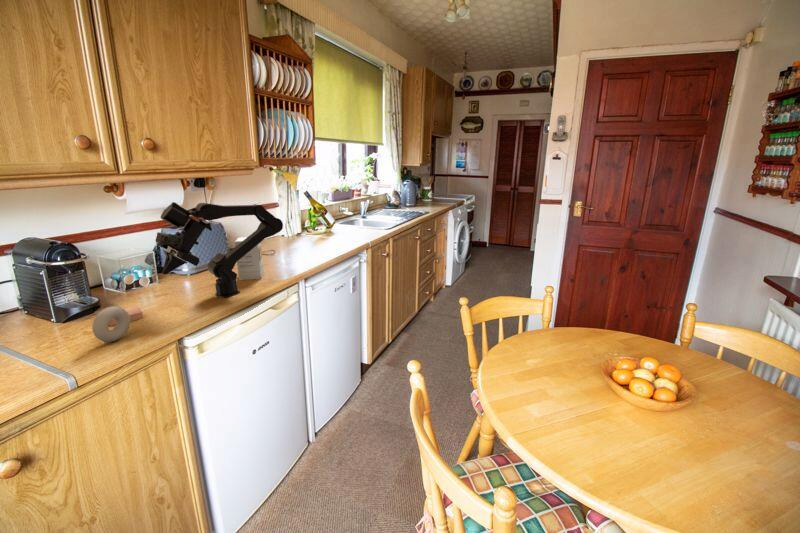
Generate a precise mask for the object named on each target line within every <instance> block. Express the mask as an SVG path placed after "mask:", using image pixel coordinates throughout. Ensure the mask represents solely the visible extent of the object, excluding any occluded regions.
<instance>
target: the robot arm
mask: <svg viewBox="0 0 800 533" xmlns="http://www.w3.org/2000/svg"><path fill="white" fill-rule="evenodd" d="M238 216H244V217H245V216H255V217H256V219H257V220H258V221H259V222H260V223H259V225H258V226H257V228H256V229H255V231H254V232H252V233H251V234H249V236H246V237H247V238H246V239H245V240H243V241H242V242H241V243H240V244H238V245H237V246H236V247H235V246H234V247H233V248H232V249H231V250H229V251H228V252H227V253H224V254H223V253H221V252H218V253H217V254H216V255H215V256H214V257H211V258H210V259H209V260H210V261H209V262H208V263H207V270H208V272H209V273H211V275H213V276H214V277H215V278H217V279H215V282H216V283H215V285H214V286H215V291H216V292H215V295H216V296H219V297H222V298H227V297H228V298H229V297H231V296H234V295H237V294H239V293H241V291H240V290H238V285H237V284H238V283H237V277H238V273H237V272H235V271H233V270H234V268H235V266H236V265H237V261H238V260H240V259H241V258H242V257H243V256H244V255H246V254H247V253H248V252H249V251H250V250H252V249H253V248H254V247H255V246H257V245H258V244H259V243H260V242H261V243H262V242H263V241H264V240H266V239H268V238H270V237H273V236H274V235H275V236H276V235H277V234H278V233H280V232H281V231H282V230H283V228H284V223H283V221H282V220H281V219H280V218H279V217H276V216H275V215H274V214H272V212H269V211H268V210H267V209H266V208H265V207H264V206H263V205H261V204H255V203H254V204H237V205H236V204H234V205H231V204H230V205H220V204H214V203H208V202H200V203H199V202H198V204H196V206H195V207H192V208H190V209H186V208H183V207H182V206H181V205H179V204H178V203H177V202H174V201H172V202H171V203H170V204H169V205H168V206H167V207H166V208H164V209H163V211H162V213H161V214H160V219H161V220H163V221H164V222H166V223H168V224H170V225H172V226H173V227H175V228H179V227H181V228H182V229H181V231H177V232H176V233H173V234H171V233H165V232H159V231H158V232H157V233H156V237H155V243H157V245H156V246H159V247H160V248H163V253H164V256H165V261H164V263H163V268H162V271H161V273H162V274H163V275H168V274H169V273H172V272H173V271H174V270H176V269H177V268H180V267H181V266H183V265H186V264H188V263H189V264H191V265H193V266H196V267H197V266H198V265H199V264H200V262H201V261H200V257H198V256H197V255H194V254H193V252H191V251H192V250H193V248H194V247H195V245H196V246H198V245H199V239H200V237H201V236H202V235H203V233H204V231H205V230H208V231H213V229H212V223H211V222H205V221H213V220H218V219H221V218H225V217H238ZM192 217H194V218H197V219H194V218H192ZM201 219H202V220H201ZM203 220H204V221H203ZM164 249H165V250H164Z"/></svg>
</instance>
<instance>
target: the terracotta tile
mask: <svg viewBox="0 0 800 533" xmlns="http://www.w3.org/2000/svg"><path fill="white" fill-rule="evenodd" d="M123 309H125V310H126V311H127V313H128V314H129V316H130V322H132V321H137V320H141V319H144V315H143V314H144V313H143V312H142V310H141V308H140V306H139V305H134V306H128V307H126V308H123ZM115 325H116V320H115V319H114V318H113V319H111V320H110V321H109V323H108V327H111V326H115Z"/></svg>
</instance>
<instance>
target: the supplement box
mask: <svg viewBox="0 0 800 533" xmlns="http://www.w3.org/2000/svg"><path fill="white" fill-rule="evenodd" d="M247 237H248V236H246V237H245V236H242V237H237V238H236V240H235V241H234V242H233V244H234V248H235V247H236V246H237V245H238V244H240V243H241V242H242V241H243V240H245V239H246V238H247ZM261 243H262V241H261V242H260V243H259V244H258V245H257V246H255V247H254V248H253V249H252V250H250V251H249V252H248V253H247V254H246V255H244V256H243V257H242V258H241V259H240V260H238V261H237V262H236V266H237V276H238V279H239V281H246V280H260V279H261V280H262V278H263V276H264V274H265V269H264V261H263V253H262V244H261Z"/></svg>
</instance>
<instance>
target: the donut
mask: <svg viewBox="0 0 800 533" xmlns="http://www.w3.org/2000/svg"><path fill="white" fill-rule="evenodd" d="M113 318H114V319H115V320H116V325H114V327H113V328H112V329H110V328H109V325H108V323H109V321H110V320H111V319H113ZM92 322H93V323H92V333H93V335H94V336H95V338H96V339H97V340H98V341H102V342H104V343H113V342H116V341H118V340H120V339H121V338H123V337H124V336H125V335H126V334H127V333H128V331H129V329H130V327H131V326H130V325H131V321H130V316H129V314H128V313H127V311H126V310H125V309H124V308H123V307H121V306H108V307H106V308H104V309H102V310H101V311H99V313H97V314H96V316H95V318H94V319H93V321H92Z"/></svg>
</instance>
